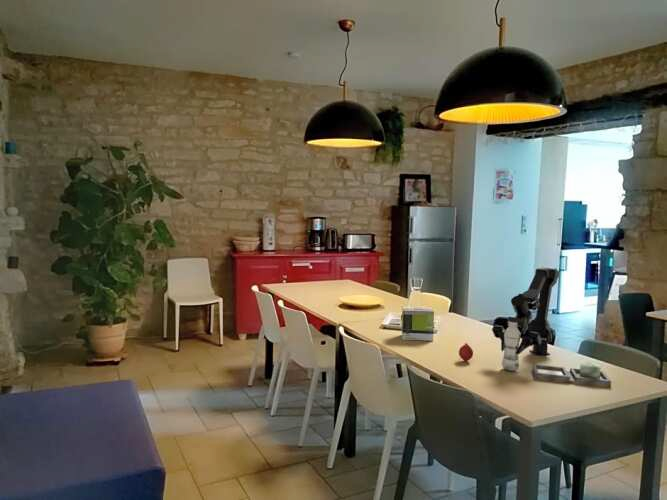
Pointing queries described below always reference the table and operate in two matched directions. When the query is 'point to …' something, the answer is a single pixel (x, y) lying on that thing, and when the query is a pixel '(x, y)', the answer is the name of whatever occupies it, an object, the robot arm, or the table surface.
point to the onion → (466, 352)
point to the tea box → (417, 323)
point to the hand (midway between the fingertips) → (509, 352)
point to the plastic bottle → (511, 347)
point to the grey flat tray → (573, 374)
